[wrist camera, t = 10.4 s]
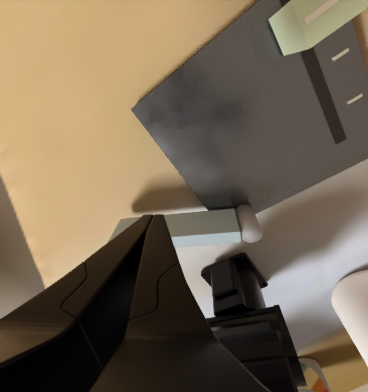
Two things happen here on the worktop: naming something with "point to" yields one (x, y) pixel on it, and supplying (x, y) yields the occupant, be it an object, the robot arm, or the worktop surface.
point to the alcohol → (354, 308)
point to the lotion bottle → (313, 376)
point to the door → (207, 227)
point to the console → (261, 113)
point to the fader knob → (311, 21)
